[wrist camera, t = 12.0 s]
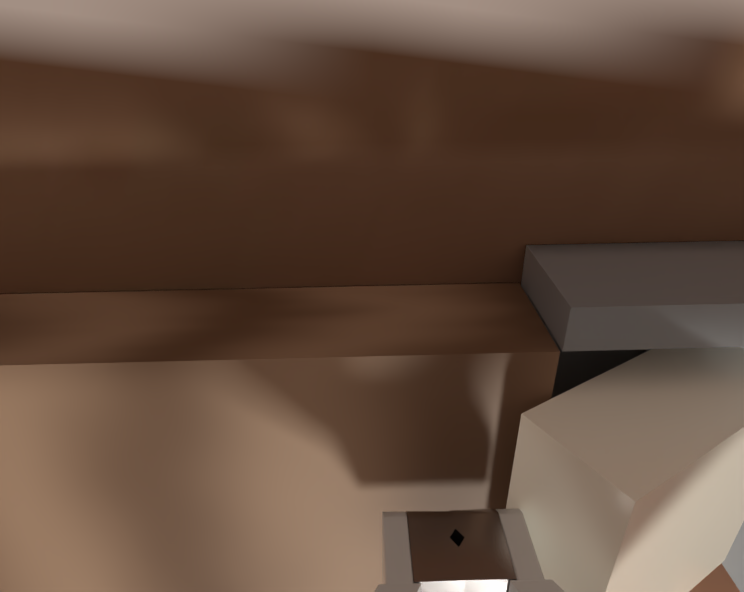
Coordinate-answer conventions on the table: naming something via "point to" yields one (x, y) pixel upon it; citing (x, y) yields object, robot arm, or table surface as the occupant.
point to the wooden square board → (252, 429)
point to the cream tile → (636, 473)
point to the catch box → (637, 309)
